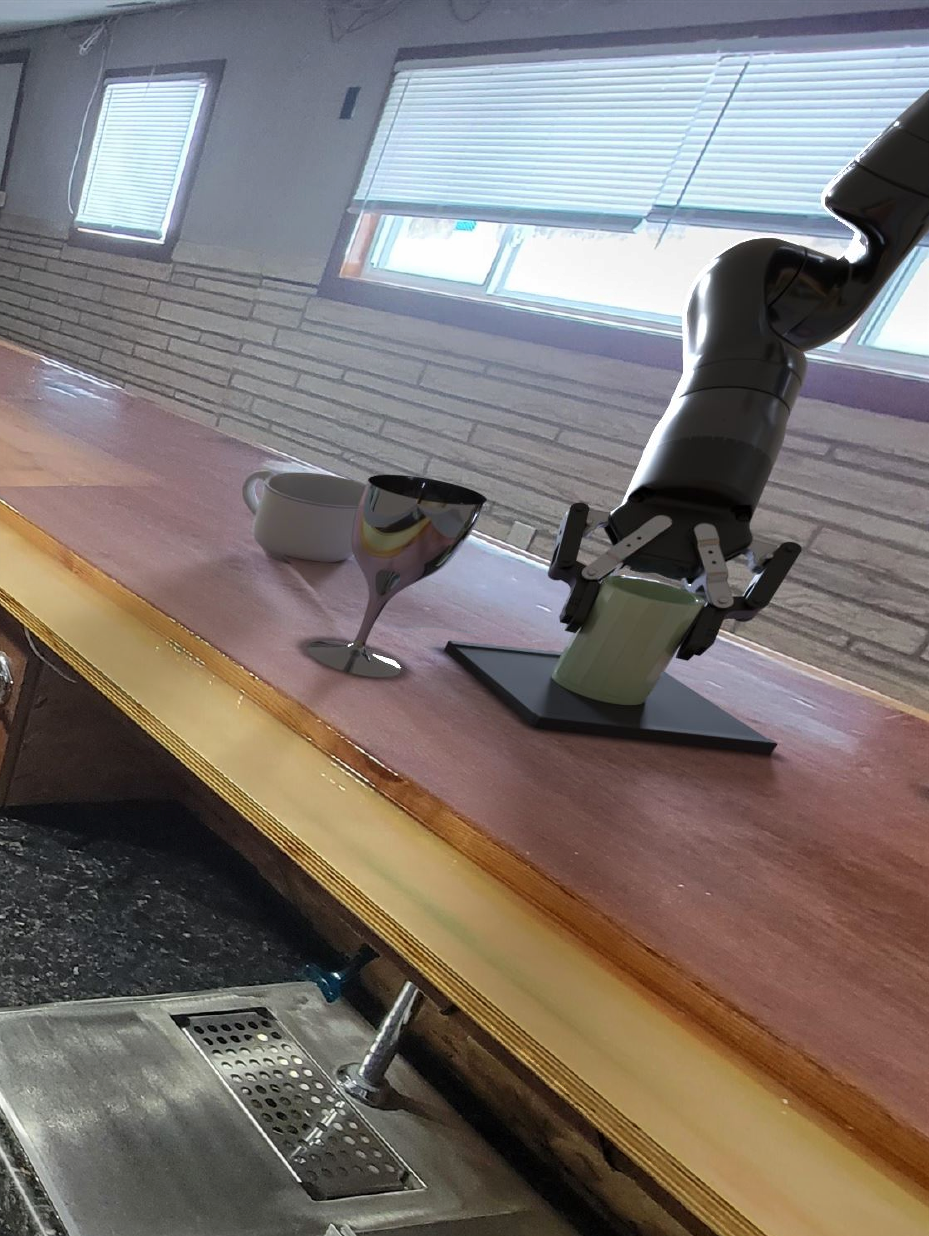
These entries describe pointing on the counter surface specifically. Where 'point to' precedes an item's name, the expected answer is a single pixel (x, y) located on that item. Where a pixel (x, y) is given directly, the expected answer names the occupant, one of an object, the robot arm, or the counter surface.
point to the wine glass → (399, 553)
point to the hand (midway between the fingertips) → (629, 640)
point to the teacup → (303, 514)
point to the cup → (627, 639)
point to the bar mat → (603, 703)
